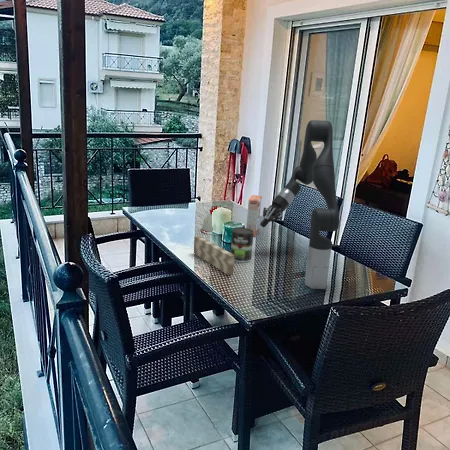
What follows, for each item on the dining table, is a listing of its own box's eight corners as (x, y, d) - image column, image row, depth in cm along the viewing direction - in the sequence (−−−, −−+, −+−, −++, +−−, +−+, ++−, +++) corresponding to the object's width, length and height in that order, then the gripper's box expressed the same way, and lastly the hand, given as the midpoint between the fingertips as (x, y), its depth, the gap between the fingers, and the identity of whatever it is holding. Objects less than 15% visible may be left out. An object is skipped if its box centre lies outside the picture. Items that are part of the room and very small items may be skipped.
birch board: (233, 274, 198) (234, 255, 196) (228, 275, 197) (229, 255, 194) (198, 253, 222) (198, 235, 219) (193, 253, 220) (194, 236, 218)
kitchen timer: (196, 230, 258) (198, 205, 254) (214, 226, 268) (215, 202, 264) (213, 236, 249) (215, 210, 245) (231, 232, 259) (232, 207, 254)
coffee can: (249, 263, 212) (251, 235, 208) (228, 260, 214) (229, 232, 211) (253, 256, 222) (255, 229, 218) (232, 253, 224) (234, 226, 220)
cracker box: (255, 237, 253) (258, 200, 247) (245, 235, 254) (248, 199, 248) (259, 230, 266) (262, 195, 260) (249, 229, 267) (251, 194, 262)
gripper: (271, 191, 227) (249, 217, 223) (288, 197, 216) (266, 225, 213) (278, 201, 231) (257, 227, 228) (296, 207, 221) (274, 234, 217)
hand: (261, 226), depth 220 cm, fingers closed
